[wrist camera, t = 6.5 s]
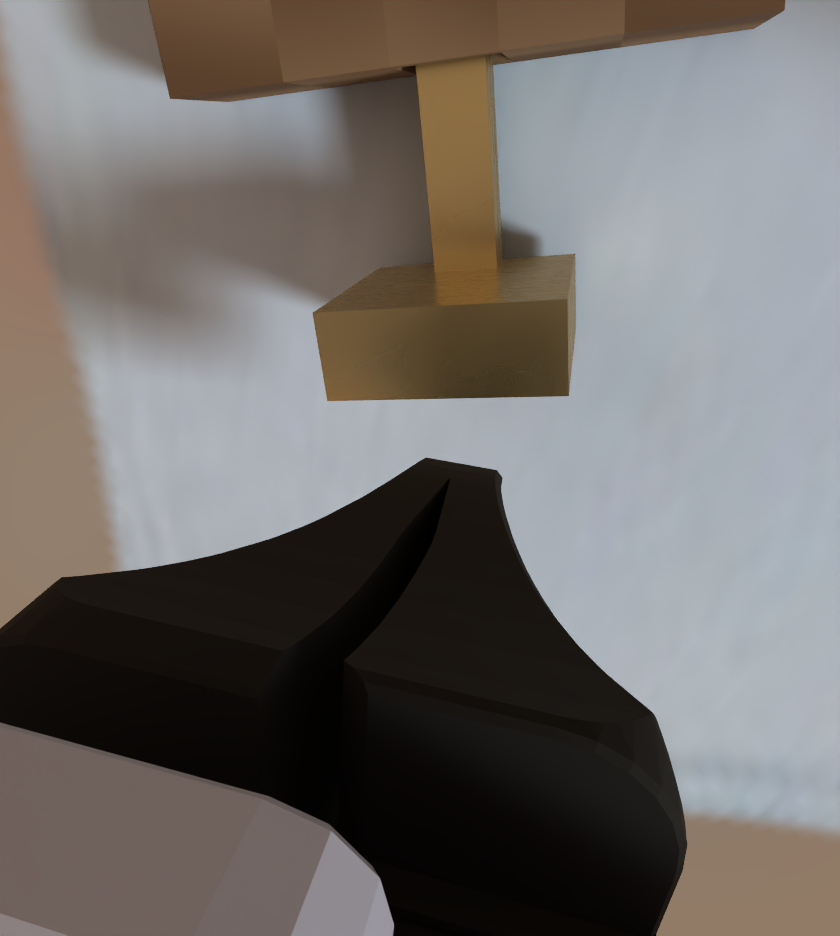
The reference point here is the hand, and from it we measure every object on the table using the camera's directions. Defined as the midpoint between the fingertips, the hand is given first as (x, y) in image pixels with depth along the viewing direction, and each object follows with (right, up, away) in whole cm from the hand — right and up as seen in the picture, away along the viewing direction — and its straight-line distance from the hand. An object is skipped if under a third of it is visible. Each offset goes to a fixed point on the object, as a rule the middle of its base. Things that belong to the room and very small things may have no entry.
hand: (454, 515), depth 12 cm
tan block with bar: (0, +8, +1) cm, 8 cm away
